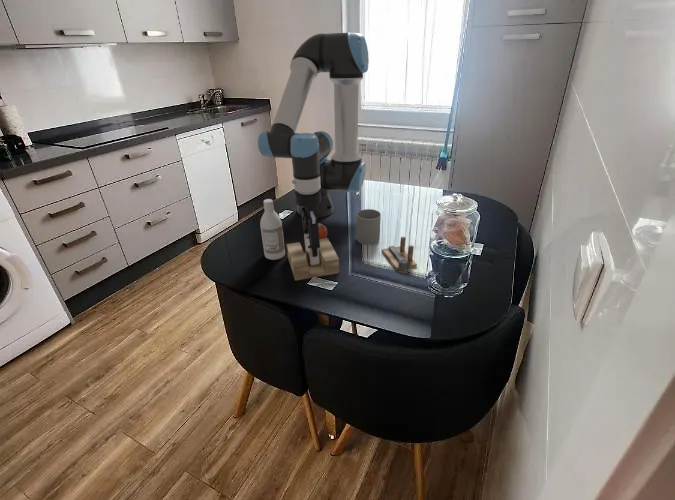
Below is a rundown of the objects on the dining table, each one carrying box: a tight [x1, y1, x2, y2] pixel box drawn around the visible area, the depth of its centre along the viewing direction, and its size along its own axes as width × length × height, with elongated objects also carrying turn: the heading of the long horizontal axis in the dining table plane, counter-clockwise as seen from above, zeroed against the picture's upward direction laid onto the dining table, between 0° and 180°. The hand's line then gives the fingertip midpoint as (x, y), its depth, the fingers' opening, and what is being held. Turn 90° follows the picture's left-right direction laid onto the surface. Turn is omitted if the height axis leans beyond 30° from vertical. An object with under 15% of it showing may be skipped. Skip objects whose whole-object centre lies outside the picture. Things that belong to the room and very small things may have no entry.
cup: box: [356, 208, 382, 246], centre depth 129 cm, size 8×8×10 cm
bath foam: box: [259, 198, 286, 261], centre depth 118 cm, size 7×7×20 cm
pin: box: [304, 236, 317, 266], centre depth 114 cm, size 4×4×9 cm
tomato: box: [318, 222, 328, 239], centre depth 129 cm, size 7×7×8 cm
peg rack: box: [381, 236, 418, 271], centre depth 117 cm, size 13×7×6 cm, turn 15°
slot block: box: [286, 237, 340, 281], centre depth 116 cm, size 14×14×5 cm
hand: (312, 257), depth 116 cm, fingers open, 7 cm apart
